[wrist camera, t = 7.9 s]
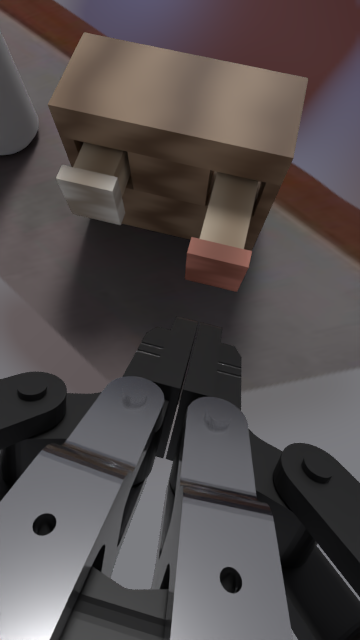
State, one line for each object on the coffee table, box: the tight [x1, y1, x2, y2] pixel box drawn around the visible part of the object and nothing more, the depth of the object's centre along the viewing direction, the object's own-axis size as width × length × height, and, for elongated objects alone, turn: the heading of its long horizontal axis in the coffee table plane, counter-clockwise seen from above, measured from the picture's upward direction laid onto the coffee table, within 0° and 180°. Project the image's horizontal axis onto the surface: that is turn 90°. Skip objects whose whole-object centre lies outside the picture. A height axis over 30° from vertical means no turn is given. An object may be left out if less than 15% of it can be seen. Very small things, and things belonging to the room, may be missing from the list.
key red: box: [185, 172, 259, 292], centre depth 25 cm, size 4×9×4 cm, turn 166°
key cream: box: [56, 142, 131, 225], centre depth 26 cm, size 4×9×4 cm, turn 166°
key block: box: [48, 33, 308, 251], centre depth 28 cm, size 16×7×12 cm, turn 76°
